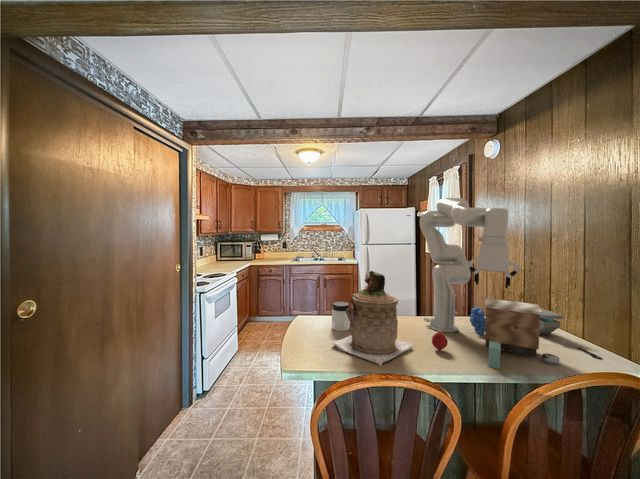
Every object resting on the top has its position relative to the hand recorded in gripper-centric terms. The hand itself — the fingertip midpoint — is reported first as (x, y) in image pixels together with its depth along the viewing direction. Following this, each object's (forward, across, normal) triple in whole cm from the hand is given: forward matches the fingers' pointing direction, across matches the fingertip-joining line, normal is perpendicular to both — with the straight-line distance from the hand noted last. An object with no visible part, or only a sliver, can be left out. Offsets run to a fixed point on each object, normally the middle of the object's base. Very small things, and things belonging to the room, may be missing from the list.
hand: (491, 285), depth 111 cm
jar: (+29, -61, -6) cm, 68 cm away
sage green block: (+27, +3, -2) cm, 27 cm away
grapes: (+28, -6, +25) cm, 38 cm away
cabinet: (+27, +8, +8) cm, 29 cm away
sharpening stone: (+28, +16, +45) cm, 56 cm away
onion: (+28, -16, -6) cm, 33 cm away
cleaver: (+28, +27, +31) cm, 50 cm away
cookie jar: (+28, -40, -19) cm, 52 cm away
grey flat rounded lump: (+27, +20, +6) cm, 34 cm away
